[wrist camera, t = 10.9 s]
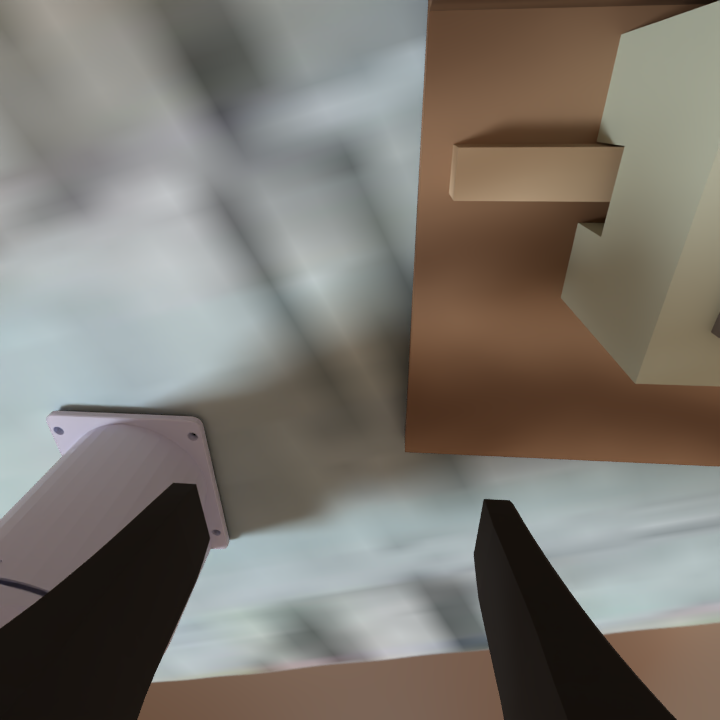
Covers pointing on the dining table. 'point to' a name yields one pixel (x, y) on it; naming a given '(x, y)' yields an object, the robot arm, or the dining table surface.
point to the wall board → (527, 243)
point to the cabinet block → (658, 208)
